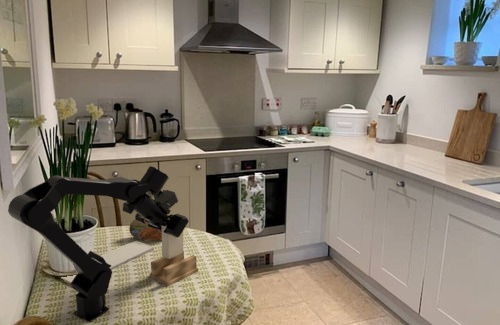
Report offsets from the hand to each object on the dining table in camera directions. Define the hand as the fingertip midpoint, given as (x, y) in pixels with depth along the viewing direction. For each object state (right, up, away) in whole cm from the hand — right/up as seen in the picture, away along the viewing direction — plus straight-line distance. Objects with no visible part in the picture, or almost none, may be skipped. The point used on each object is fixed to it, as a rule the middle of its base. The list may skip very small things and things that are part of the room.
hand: (175, 232), depth 126 cm
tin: (-15, -7, +26) cm, 31 cm away
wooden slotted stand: (-1, -13, +1) cm, 13 cm away
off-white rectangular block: (-1, -7, 0) cm, 7 cm away
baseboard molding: (-25, -12, +8) cm, 29 cm away
